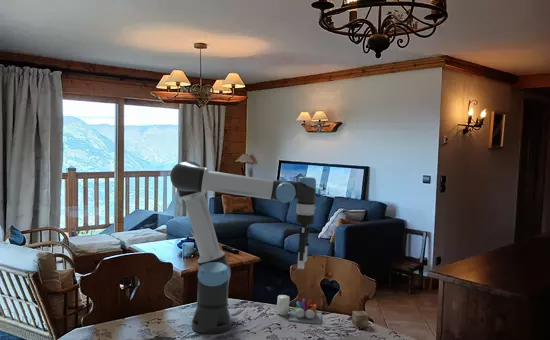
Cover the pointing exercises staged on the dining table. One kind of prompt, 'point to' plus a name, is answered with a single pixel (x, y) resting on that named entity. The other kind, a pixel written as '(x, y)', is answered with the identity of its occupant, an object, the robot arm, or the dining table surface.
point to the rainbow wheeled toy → (305, 309)
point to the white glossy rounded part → (282, 304)
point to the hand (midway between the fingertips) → (302, 264)
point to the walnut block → (360, 318)
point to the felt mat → (305, 320)
